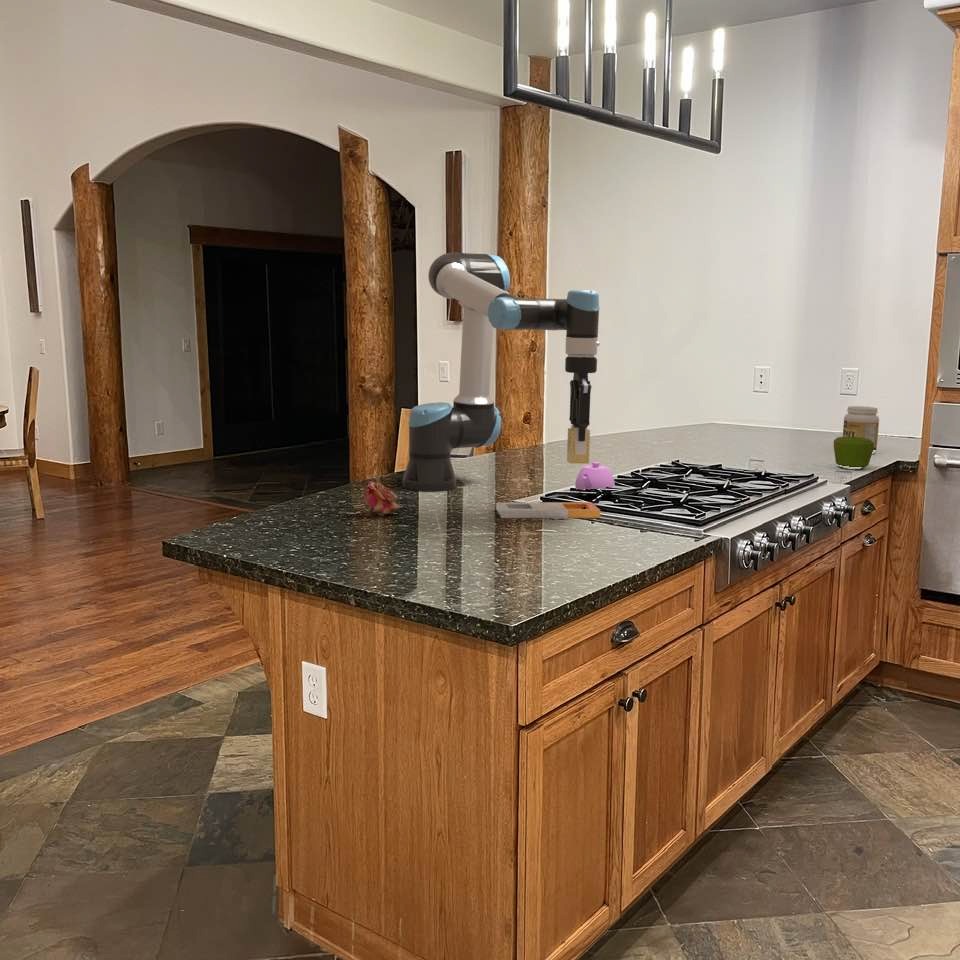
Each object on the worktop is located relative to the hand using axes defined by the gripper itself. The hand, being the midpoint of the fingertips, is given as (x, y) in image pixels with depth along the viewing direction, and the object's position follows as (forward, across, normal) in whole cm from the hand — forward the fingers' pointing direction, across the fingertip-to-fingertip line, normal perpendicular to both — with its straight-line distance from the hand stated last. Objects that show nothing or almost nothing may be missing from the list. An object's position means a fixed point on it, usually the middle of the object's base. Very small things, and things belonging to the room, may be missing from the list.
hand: (578, 452), depth 236 cm
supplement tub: (+16, +113, -129) cm, 172 cm away
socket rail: (+16, 0, +7) cm, 17 cm away
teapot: (+16, +26, -10) cm, 32 cm away
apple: (+16, +76, -108) cm, 133 cm away
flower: (+16, +2, +47) cm, 50 cm away
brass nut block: (+2, 0, 0) cm, 2 cm away
